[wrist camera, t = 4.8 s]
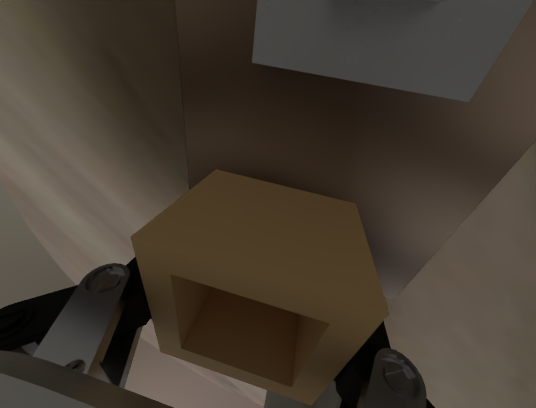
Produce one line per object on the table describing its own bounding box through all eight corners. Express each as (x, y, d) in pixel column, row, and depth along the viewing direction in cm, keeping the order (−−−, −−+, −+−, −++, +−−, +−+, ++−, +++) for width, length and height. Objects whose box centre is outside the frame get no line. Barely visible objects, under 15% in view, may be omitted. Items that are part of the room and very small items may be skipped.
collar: (314, 293, 12) (311, 405, 8) (213, 263, 13) (160, 352, 9) (355, 203, 9) (389, 313, 4) (216, 169, 9) (130, 236, 5)
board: (386, 281, 15) (392, 300, 13) (203, 232, 16) (193, 245, 15) (949, -436, 3) (1308, -727, 2) (179, -404, 5) (130, -575, 3)
